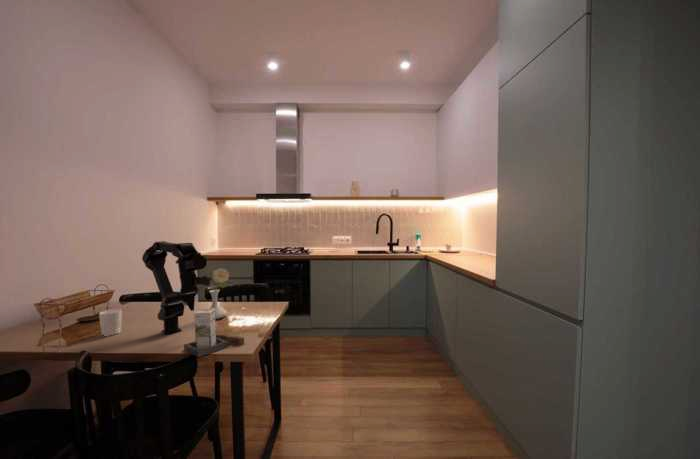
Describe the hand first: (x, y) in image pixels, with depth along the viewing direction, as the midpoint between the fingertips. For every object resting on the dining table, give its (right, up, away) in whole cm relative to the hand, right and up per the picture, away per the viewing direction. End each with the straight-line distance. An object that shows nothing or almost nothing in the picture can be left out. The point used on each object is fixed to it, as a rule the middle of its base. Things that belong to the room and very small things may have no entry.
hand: (192, 309), depth 127 cm
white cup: (-40, -13, +8) cm, 43 cm away
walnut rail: (+15, -11, -5) cm, 19 cm away
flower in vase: (-2, -12, +28) cm, 30 cm away
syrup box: (+11, -12, -11) cm, 20 cm away
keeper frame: (+11, -12, -11) cm, 20 cm away
